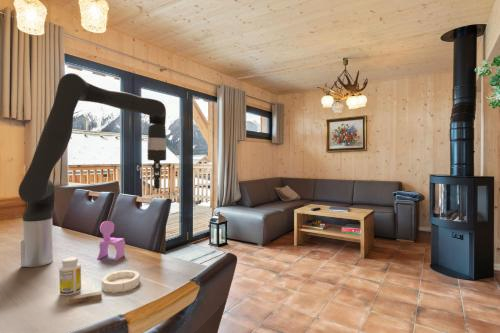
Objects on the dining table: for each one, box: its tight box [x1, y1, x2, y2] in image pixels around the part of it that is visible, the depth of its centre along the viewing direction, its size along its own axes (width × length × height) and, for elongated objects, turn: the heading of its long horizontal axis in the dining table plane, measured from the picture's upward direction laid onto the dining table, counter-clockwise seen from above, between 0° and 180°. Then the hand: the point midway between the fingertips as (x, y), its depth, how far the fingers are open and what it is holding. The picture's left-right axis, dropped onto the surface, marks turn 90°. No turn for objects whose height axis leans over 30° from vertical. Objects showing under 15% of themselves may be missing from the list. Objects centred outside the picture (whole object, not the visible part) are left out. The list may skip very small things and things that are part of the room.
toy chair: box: [96, 220, 126, 262], centre depth 120 cm, size 8×9×15 cm
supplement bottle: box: [58, 256, 82, 297], centre depth 88 cm, size 6×6×10 cm
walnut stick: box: [68, 290, 103, 306], centre depth 83 cm, size 8×2×2 cm, turn 116°
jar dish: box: [101, 269, 141, 294], centre depth 94 cm, size 11×11×3 cm
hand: (156, 187), depth 123 cm, fingers open, 8 cm apart
